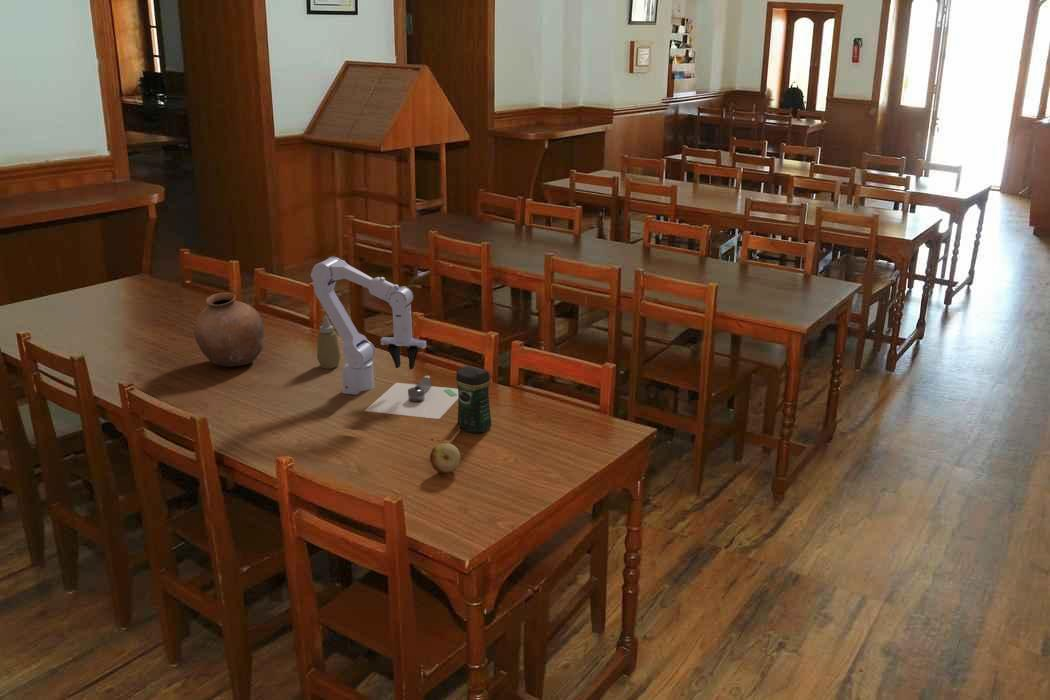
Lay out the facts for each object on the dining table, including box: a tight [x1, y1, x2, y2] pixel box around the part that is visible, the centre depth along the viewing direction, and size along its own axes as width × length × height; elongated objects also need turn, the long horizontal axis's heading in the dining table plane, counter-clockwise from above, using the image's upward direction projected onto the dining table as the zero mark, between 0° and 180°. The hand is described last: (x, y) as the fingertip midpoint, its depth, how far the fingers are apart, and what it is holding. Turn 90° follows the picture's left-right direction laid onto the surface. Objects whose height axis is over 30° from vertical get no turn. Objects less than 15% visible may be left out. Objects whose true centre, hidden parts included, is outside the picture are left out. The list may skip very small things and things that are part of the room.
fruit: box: [429, 442, 461, 474], centre depth 250 cm, size 8×8×8 cm
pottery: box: [193, 292, 265, 368], centre depth 327 cm, size 23×23×25 cm
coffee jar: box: [455, 364, 492, 434], centre depth 275 cm, size 10×8×19 cm
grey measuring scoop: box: [408, 375, 432, 402], centre depth 297 cm, size 12×5×4 cm, turn 164°
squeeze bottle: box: [316, 315, 342, 370], centre depth 324 cm, size 8×8×18 cm
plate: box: [364, 382, 458, 420], centre depth 294 cm, size 24×24×2 cm
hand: (404, 367), depth 298 cm, fingers open, 4 cm apart
